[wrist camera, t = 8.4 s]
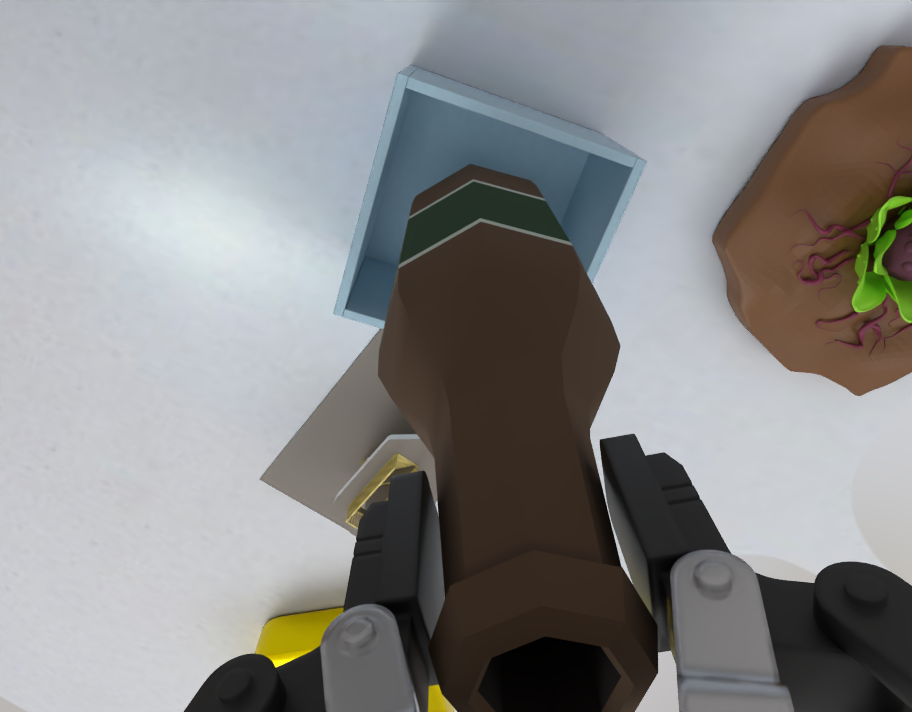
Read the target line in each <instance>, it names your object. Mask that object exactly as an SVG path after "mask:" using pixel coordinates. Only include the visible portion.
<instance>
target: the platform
mask: <svg viewBox="0 0 912 712" xmlns="http://www.w3.org/2000/svg"><path fill="white" fill-rule="evenodd" d="M382 333H383V329H380V331H379V332H378V333H377V334H376V335H375V337H374V338H373V339H372V340H371V342H370V343H369V344H368V345H367V347H366V348H365V349H364V350H363V352H362V353H361V354H360V355H359V357H358V358H357V359H356V360H355V362H354V363H353V364H352V365H351V367H350V368H349V369H348V370H347V371H346V373H345V374H344V375H343V376H342V378H341V379H340V380H339V381H338V383H337V384H336V385H335V386H334V388H333V389H332V390H331V391H330V393H329V394H328V395H327V396H326V398H325V399H324V400H323V401H322V402H321V404H320V405H319V406H318V407H317V409H316V410H315V411H314V412H313V414H312V415H311V416H310V417H309V419H308V420H307V421H306V422H305V424H304V425H303V426H302V427H301V429H300V430H299V431H298V432H297V434H296V435H295V436H294V437H293V438H292V440H291V441H290V442H289V443H288V445H287V446H286V447H285V448H284V450H283V451H282V452H281V453H280V455H279V456H278V457H277V458H276V460H275V461H274V462H273V463H272V465H271V466H270V467H269V468H268V469H267V471H266V472H265V473H264V474H263V476H262V477H261V478H260V480H261V481H263V482H265V483H267V484H268V485H270V486H272V487H274V488H275V489H277V490H279V491H281V492H282V493H284V494H286V495H288V496H289V497H291V498H293V499H294V500H296V501H298V502H300V503H301V504H303V505H305V506H307V507H308V508H310V509H312V510H314V511H315V512H317V513H319V514H321V515H322V516H324V517H326V518H327V519H329V520H331V521H333V522H334V523H336V524H338V525H340V526H341V527H343V528H345V529H347V530H348V531H349V532H350V533H351V534H353V535H355V536H357V531H358V526H359V521H360V519H361V518H362V516H363V515H364V513H365V512H366V510H367V509H368V507H369V506H370V505H371V503H375V502H380V501H386V500H388V496H389V488H390V480H391V477H392V476H395V475H401V474H407V473H412V472H418V471H423V470H424V471H425V472H426V474H427V477H428V481H429V484H430V488H431V491H432V495H433V498H434V502H436V501H437V500H438V499H437V486H436V473H435V460H434V457H433V456H432V454H431V453H430V452H429V450H428V449H427V447H426V446H425V445H424V443H423V442H422V440H421V439H420V438H419V436H418V435H417V434H416V432H415V431H414V429H413V428H412V427H411V425H410V424H409V422H408V421H407V420H406V418H405V417H404V415H403V414H402V413H401V411H400V410H399V409H398V407H397V406H396V404H395V403H394V402H393V400H392V399H391V397H390V395H389V394H388V392H387V390H386V389H385V387H384V385H383V384H382V382H381V380H380V378H379V377H378V358H379V347H380V343H381V338H382Z"/></svg>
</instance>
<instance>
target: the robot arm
mask: <svg viewBox="0 0 912 712" xmlns="http://www.w3.org/2000/svg"><path fill="white" fill-rule="evenodd" d="M600 451H601V459H602V467H603V474H604V482H605V490H606V497H607V503H608V508H609V512H610V517H611V520H612V524H613V527H614V530H615V533H616V536H617V539H618V541H619V544H620V547H621V550H622V553H623V556H624V559H625V562H626V565H627V568H628V571H629V574H630V577H631V580H632V583H633V586H634V587H635V589H636V591H637V592H638V594H639V596H640V597H641V599H642V600H643V602H644V604H645V605H646V607H647V609H648V610H649V612H650V613H651V615H652V617H653V618H654V620H655V621H656V623H657V625H658V652H664V651H671V652H672V654H673V657H674V660H675V663H676V667H677V685H678V700H679V712H912V586H911V585H910V584H908V583H907V582H905V581H904V580H903V579H901V578H900V577H898V576H897V575H895V574H893V573H892V572H890V571H888V570H886V569H883V568H881V567H878V566H875V565H871V564H867V563H862V562H840V563H835V564H832V565H830V566H827V567H826V568H824V569H823V570H822V571H821V572H820V573H819V574H818V575H817V577H816V579H815V583H807V582H797V581H787V580H779V579H773V578H769V577H766V576H763V575H760V574H757V573H755V572H754V571H753V569H752V568H751V567H750V566H749V565H748V564H747V563H746V562H745V561H743V560H742V559H740V558H738V557H737V556H735V555H732V554H731V552H730V551H729V549H728V547H727V546H726V544H725V542H724V540H723V538H722V537H721V535H720V533H719V531H718V529H717V527H716V526H715V524H714V522H713V520H712V518H711V517H710V515H709V513H708V511H707V509H706V507H705V506H704V504H703V502H702V500H700V497H699V495H698V493H697V491H696V489H695V487H694V486H692V482H691V480H690V478H689V477H688V475H687V473H686V471H685V469H684V467H683V466H682V465H681V464H680V463H678V462H677V461H676V460H674V459H673V458H671V457H670V456H669V455H667V454H666V453H658V454H652V455H647V456H645V454H644V452H643V450H642V448H641V446H640V444H639V442H638V440H637V437H636V436H635V434H629V435H623V436H618V437H612V438H606V439H601V440H600ZM356 540H357V542H356V543H355V548H354V558H353V559H352V565H351V570H350V576H349V582H348V587H347V593H346V598H345V604H344V609H343V613H341V614H340V615H339V616H337V617H336V618H335V619H334V620H333V621H332V622H331V623H330V625H329V626H328V627H327V629H326V630H325V632H324V634H323V637H322V640H321V645H320V646H318V647H317V648H315V649H314V650H312V651H311V652H309V653H307V654H305V655H302V656H300V657H298V658H296V659H294V660H291V661H289V662H287V663H285V664H282V665H280V666H278V667H275V665H274V663H273V662H272V661H271V660H270V659H269V658H268V657H266V656H264V655H261V654H246V655H242V656H239V657H236V658H234V659H232V660H230V661H228V662H226V663H225V664H223V665H222V666H220V667H219V668H218V669H216V670H215V671H214V672H213V673H212V674H211V675H210V676H209V677H208V679H207V680H206V681H205V682H204V684H203V685H202V687H201V688H200V689H199V691H198V692H197V694H196V695H195V696H194V698H193V699H192V701H191V702H190V703H189V705H188V706H187V708H186V709H185V711H184V712H428V699H429V686H433V685H439V684H438V680H437V677H436V674H435V671H434V667H433V664H432V661H431V658H430V654H429V651H428V646H429V643H430V640H431V637H432V635H433V632H434V629H435V626H436V623H437V621H438V618H439V615H440V612H441V609H442V607H443V604H444V579H443V566H442V552H441V539H440V526H439V516H438V513H437V509H436V506H435V502H434V498H433V495H432V491H431V488H430V484H429V481H428V477H427V474H426V472H425V471H424V470H423V471H418V472H412V473H407V474H401V475H395V476H392V477H391V480H390V488H389V496H388V500H386V501H380V502H375V503H371V505H370V506H369V507H368V509H367V510H366V512H365V513H364V515H363V516H362V518H361V519H360V521H359V526H358V531H357V537H356Z"/></svg>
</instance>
